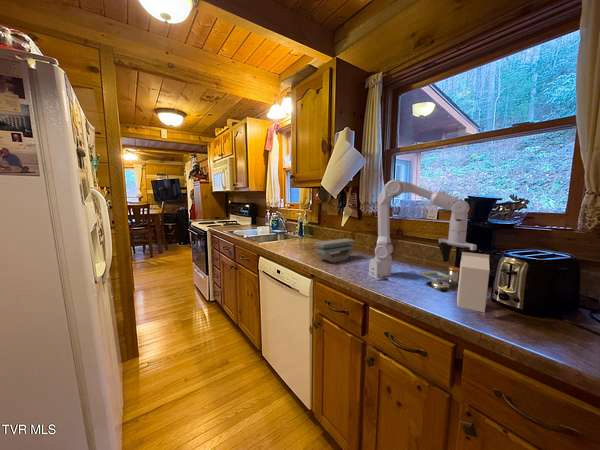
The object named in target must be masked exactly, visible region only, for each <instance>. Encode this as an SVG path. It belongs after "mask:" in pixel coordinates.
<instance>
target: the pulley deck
mask: <svg viewBox="0 0 600 450" xmlns="http://www.w3.org/2000/svg"><path fill="white" fill-rule="evenodd" d="M458 284H459V281H458V282H457V287H451V286H452V285H451V284H448V280H444V281H434V280H431V281H427V282H426V283H424V284H423V285H424V286H427V287H429V288H432V289H434V290H436V291H438V292H440V293H442V294H443V293H445V294H446V293H450V292H458Z"/></svg>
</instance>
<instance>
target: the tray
mask: <svg viewBox="0 0 600 450" xmlns="http://www.w3.org/2000/svg"><path fill="white" fill-rule="evenodd" d="M431 275H439V276H442V277H434V276H431ZM420 276H422V277H424V278H426V279H429V280H431V281H441V282H443V281H448V277H449V274H448V275H447V274H445V273H443V272H440V271H436V270H435V271H434V270H433V271H426V272H420Z"/></svg>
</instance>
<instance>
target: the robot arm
mask: <svg viewBox="0 0 600 450" xmlns="http://www.w3.org/2000/svg"><path fill="white" fill-rule="evenodd" d="M409 193H412V194H414V195H417V196H419V197H421V198H422V197H423V198H424V199H428V200H429V201H430V203H431V205H433V206H435V207H438V208H441V209H443V210H445V211H451V215H450V219H449V226H448V227H449V229H448V238H443V237H441V238H438V243H439V244H438V248H439V251H440V252H441V255H442V261H443V262H444V263H446V262H449V261H450V255H451V252H452V247H458V248H459V253H460V258H461V257H462V252H467V253H475V252H476V251H477V244H474V243H470V242H467V241H466V239H467V238H466V237H467V229H468V216H469V215H468V213H469V211H470V204H469V203H468V201H466V200H463V199H461V198H459V196H457V195H455V196H454V195H451V194H448V193H447V192H446V191H445V190H442V191H440V190H438V191H435V192H432V191H431V190H428V189H426V188H423V187H421V186H418V185H416V184H413V183H411V182H406V181H401V180H399V179H391V180H389V181H388V182H386V184H384V186H383V188H382V190H381V192H380V193H379V194H378V197H377V240H376V245H375V246H376V247H375V249H374V256H375V257H374V258H371V259H370V260H369V263H368V273H367V275H368V276H369V277H372V278H374V279H375V280H378V281H381V280H388V277H389V276H391V275H392V263H393V257H392V255H391V254H392V253H393V251H394V246H393V244H392V241H391V240H392V239H391V237H390V235H391V232H390V231H391V230H390V202H391V201H392V200H394V199H395V198H396V197H398V196H400V195H402V194H409Z"/></svg>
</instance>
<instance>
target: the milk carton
mask: <svg viewBox="0 0 600 450" xmlns="http://www.w3.org/2000/svg"><path fill="white" fill-rule="evenodd" d="M489 277H490V254H485V253H484V254H483V253H467V252H462V257H461V256H460V265H459V273H458V283H459V284H458V291H457V295H456V297H457V298H456V302H457V303H456V305H457V307H459V308H462V309H465V310H466V309H467V310H472V311H476V312H480V313H476V314H475V315H477V316H481V317H485V315H486V314H485V313H486V305H487V296H488V295H487V294H488V288H489V287H488V286H489V279H490V278H489Z"/></svg>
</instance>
